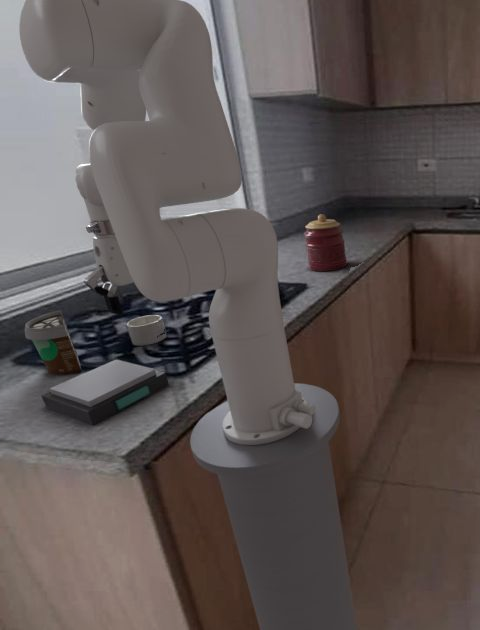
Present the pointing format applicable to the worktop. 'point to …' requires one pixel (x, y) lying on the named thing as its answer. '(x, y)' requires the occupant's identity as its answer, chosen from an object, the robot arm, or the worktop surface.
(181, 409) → the worktop surface
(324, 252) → the kitchen canister
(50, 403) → the scale
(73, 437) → the worktop surface
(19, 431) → the worktop surface
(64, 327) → the food container
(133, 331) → the bowl
